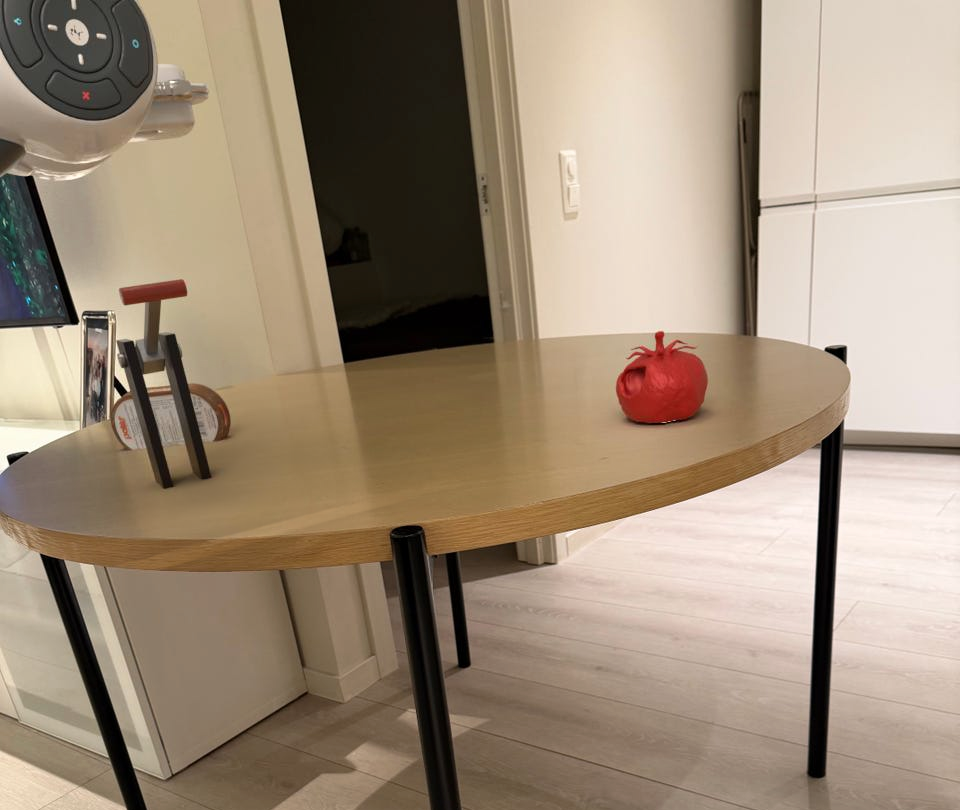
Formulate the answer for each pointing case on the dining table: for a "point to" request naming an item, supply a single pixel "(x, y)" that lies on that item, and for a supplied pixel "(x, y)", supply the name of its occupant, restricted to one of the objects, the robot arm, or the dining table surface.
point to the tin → (171, 417)
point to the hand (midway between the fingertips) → (27, 130)
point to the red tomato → (662, 384)
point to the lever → (152, 319)
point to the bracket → (182, 403)
